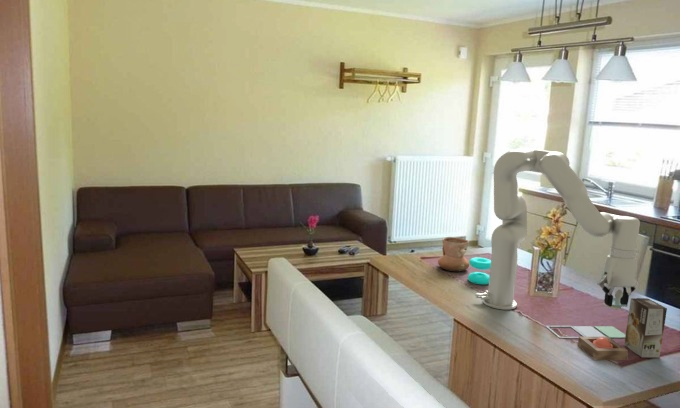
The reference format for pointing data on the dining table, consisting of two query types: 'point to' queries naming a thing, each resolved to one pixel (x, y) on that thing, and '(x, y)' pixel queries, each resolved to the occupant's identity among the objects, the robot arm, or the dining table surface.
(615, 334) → the pad
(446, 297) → the dining table surface
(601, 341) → the popper button
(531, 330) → the dining table surface
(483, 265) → the donuts
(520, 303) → the dining table surface
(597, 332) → the mid pad
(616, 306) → the pacifier
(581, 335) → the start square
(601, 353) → the box
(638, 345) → the coffee box
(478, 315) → the dining table surface
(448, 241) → the ceramic jug
